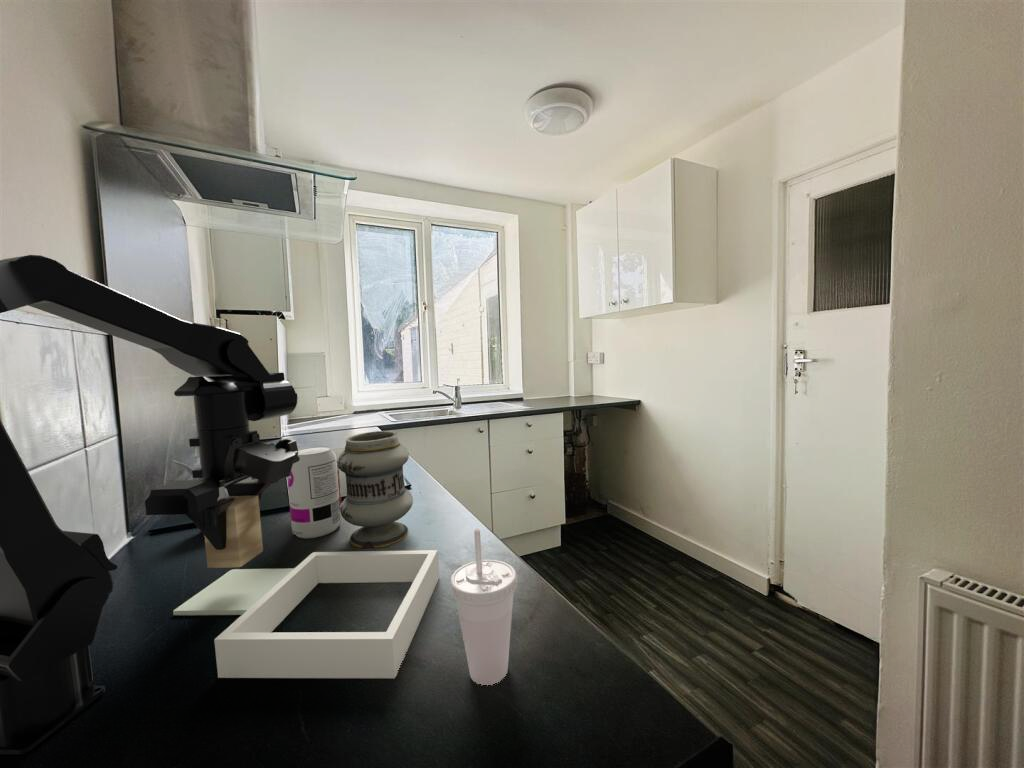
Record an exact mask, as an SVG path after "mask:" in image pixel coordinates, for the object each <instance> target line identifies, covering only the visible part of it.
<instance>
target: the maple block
mask: <svg viewBox="0 0 1024 768" xmlns="http://www.w3.org/2000/svg"><path fill="white" fill-rule="evenodd" d="M225 498H235V499H234V501H233V502H232V503H231V504H230V506H229V507H228V508H227V510H226V536H227V538H226V548H225V549H223V550H216V549H215V548H214V547H213V545H212V544H211V543H210V542H209V541H208V539H207V538H206V537H205V536H204V535H203V536H204V537H205V539H204V545H205V556H206V557H205V558H206V565H207V568H208V569H209V568H211V569H213V568H216V569H218V568H225V569H226V568H241V567H243V566H244V565H245V564H247V563H248V562H250V561H252V560H253V559H254V558H256V557H257V556H258V555H260V554H261V553H262V552H263V551H264V546H263V536H262V535H263V534H262V523H261V512H260V502H259V499H258V496H227V497H225ZM204 537H203V538H204Z"/></svg>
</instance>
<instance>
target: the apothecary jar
mask: <svg viewBox="0 0 1024 768" xmlns="http://www.w3.org/2000/svg"><path fill="white" fill-rule="evenodd" d="M409 458H410V454H409V451H408V448H407V447H406V446H404V445H403V444H402V443H400V441H399V439H398V433H397V432H396V431H392V430H378V431H377V430H376V431H368V432H362V433H358V434H354V435H350V436H348V437H347V438H346V440H345V446H344V450H342V451H341V453H339V455H338V457H337V465H338V468H339V471H340V472H342V473H344V474H345V483H346V497H345V498H344V499H343V501H341V506H340V513H341V518H342V519H343V520H344V521H345V522H347V523H349V524H350V525H354V526H356V527H360V528H358V529H356V530H355V531H353V533H351V535H350V536H349V541H348V542H349V543H350V544H351V545H352V547H355V548H359V549H365V548H373V549H377V548H378V549H379V548H384V547H388V546H391V545H393V544H396V543H399V542H401V541H402V540H403V539H405V538H406V537H407V536H408V534H409V528H408V526H407V525H406V524H405V523H402V522H398V520H400V519H402V518H403V517H404V516H405V515H407V514H408V513H409V511H410V510H411V509H412V506H413V504H414V498H413V495H412V493H411V492H410V490H408V488H405V487H406V486H405V478H404V477H405V476H404V465H405V464H406V463H407V462H408V460H409Z"/></svg>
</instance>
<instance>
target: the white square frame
mask: <svg viewBox="0 0 1024 768" xmlns="http://www.w3.org/2000/svg"><path fill="white" fill-rule="evenodd" d="M438 550H439V549H431V550H429V549H427V550H425V549H424V550H421V549H420V550H416V549H415V550H376V551H375V550H374V551H373V550H372V551H371V550H370V551H368V550H367V551H365V550H364V551H361V550H359V551H357V550H356V551H313V552H312V553H310V554H309V555H308V556H307V557H306V558H305V559H303V560H302V561H301V562H300V563H299V564H298V565H296V566H295V567H294V568H295V569H293V570H292V571H291V572H290V573H289V574H288V575H287V576H286V577H284V578H283V579H282V580H281V581H280V582H279V583H278V584H276V585H275V586H274V587H273V588H272V589H271V590H270V591H269V592H267V593H266V594H265V595H264V596H263V597H262V598H261V599H259V600H258V601H257V602H256V603H255V604H254V605H253V606H252V607H250V608H249V609H248V610H247V611H246V612H245V613H244V614H243V615H239V617H237V618H236V619H235V620H234V621H233V622H232V623H231V624H230V625H229V626H228V627H227V628H225V629H224V630H223V631H222V632H221V633H219V635H218V636H216V637H215V638H214V640H213V642H214V648H215V649H214V650H215V659H216V660H215V661H216V669H217V678H218V679H219V678H220V679H224V678H225V679H396V678H395V677H397V675H398V674H399V671H400V669H399V668H401V666H402V664H403V662H404V659H405V658H406V655H407V653H408V650H409V648H410V646H411V644H412V641H413V638H414V636H415V634H416V632H417V630H418V628H419V625H420V623H421V620H422V618H423V616H424V614H425V611H426V608H427V607H428V604H429V602H430V600H431V598H432V597H433V593H434V591H435V588H436V586H437V583H438V582H439V579H440V570H439V569H440V568H439V551H438ZM345 583H346V584H348V583H349V584H353V583H354V584H355V583H356V584H357V583H359V584H360V583H363V584H364V583H367V584H370V583H411V586H410V587H409V589H408V591H407V592H406V594H405V596H404V598H403V600H402V602H401V603H400V605H399V607H398V609H397V611H396V613H395V614H394V617H393V619H392V620H391V622H390V624H389V625H388V628H387V630H386V631H349V632H348V631H335V632H333V631H329V632H328V631H322V632H320V631H316V632H315V631H314V632H313V631H312V632H306V631H304V632H300V631H298V632H297V631H296V632H288V631H287V632H280V631H279V632H276V631H275V632H273V631H274V630H275V629H276V628H277V627H278V626H279V625H280V624H281V623H282V622H283V621H284V620H285V618H286V617H287V616H288V615H289V614H290V613H291V612H292V611H293V610H294V609H295V608H296V607H297V606H298V605H299V604H300V603H301V602H302V601H303V600H304V599H305V598H306V596H307V595H309V593H311V592H312V590H313V589H314V588H315V587H317V585H318V584H345ZM406 652H407V653H406ZM405 654H406V655H405ZM402 661H403V662H402ZM401 663H402V664H401ZM400 665H401V666H400ZM398 670H399V671H398Z"/></svg>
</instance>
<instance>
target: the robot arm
mask: <svg viewBox="0 0 1024 768" xmlns="http://www.w3.org/2000/svg"><path fill="white" fill-rule="evenodd" d="M26 306H27V307H31V308H34V309H37V310H39V311H42V312H45V313H49V314H51V315H54V316H57V317H60V318H63V319H65V320H67V321H71V322H73V323H76V324H80V325H82V326H84V327H88V328H91V329H93V330H96V331H98V332H102V333H105V334H108V335H110V336H113V337H115V338H119V339H123V340H124V341H127V342H130V343H133V344H134V345H135V344H136V345H138V346H141V347H144V348H147V349H149V350H151V351H153V352H155V353H158V354H159V355H160V356H162V357H163V358H164V359H165V360H166V361H167V362H168V363H169V364H171V365H173V366H174V367H176V368H177V369H180V370H182V371H183V372H185V373H187V374H189V375H191V376H189V377H188V378H187V379H186V381H185V382H184V383H183V384H181V386H179V387H178V388H177V389H176V390H174V393H173V394H174V396H175V397H193V404H194V415H195V425H196V434H197V436H196V437H191V438H189V439H188V442H189V447H193V448H194V447H198V456H199V465H200V466H199V467H198V468H195V469H193V470H192V474H193V477H192V479H191V480H189V479H188V480H175V481H173V482H169V483H166V484H163V485H161V486H157V487H154V488H153V489H152V488H151V489H150V491H149V492H148V493H147V494H146V495H145V497H144V504H145V505H144V508H145V514H146V516H166V515H185V516H186V517H187V518H188V519H189V520H191V522H192V524H195V526H196V527H197V528H198V530H199V531H200V533H201V532H202V533H201V534H203V536H205V537H206V538H207V539H208V541H209V542H210V543H211V544H212V545H213V547H214V548H215V549H216V550H223V549H225V548H226V538H227V536H226V510H227V508H228V507H229V506H230V504H231V503H232V502H233V501H234V499H235V498H225V491H224V488H225V487H226V489H227V492H228V495H229V496H258V499H259V503H261V498H262V495H263V493H264V492H265V490H266V489H268V488H269V486H270V485H273V484H276V483H277V482H279V481H280V480H282V479H284V478H287V477H288V476H290V473H291V469H292V466H293V464H294V463H296V462H298V461H299V460H300V458H299V456H298V449H299V448H298V444H297V440H295V439H293V438H289V437H286V438H283V439H280V440H279V441H278V442H277V443H273V442H271V443H263V442H261V438H260V433H258V430H250V423H249V422H250V421H251V422H259V421H262V420H267V419H268V420H269V419H272V418H273V419H274V418H278V417H279V418H280V417H283V416H288V415H290V414H291V413H293V412H294V411H295V409H296V408H297V405H298V398H299V397H298V393H297V392H296V391H295V388H294V387H293V385H292V384H291V383H290V382H289V381H287V380H286V379H285V373H284V371H283V372H282V371H281V372H269V371H268V370H267V369H266V367H265V366H264V364H263V363H262V362H261V360H260V359H259V357H258V356H257V355H256V354H255V352H254V351H253V350H252V348H251V347H250V345H249V342H250V341H249V340H248V339H247V338H246V336H244V334H241V333H240V332H237V331H234V330H230V329H227V328H223V327H219V326H215V325H211V324H210V325H209V324H204V323H198V322H197V323H196V322H193V321H192V322H191V321H188V320H184V319H181V318H179V317H176V316H175V315H171V314H169V313H168V312H165V311H164V310H161V309H160V308H159V309H158V308H156V307H154V306H151V305H150V304H147V303H145V302H144V301H143V302H142V301H141V300H138V299H136V298H134V297H132V296H130V295H127V294H125V293H122V292H120V291H118V290H116V289H114V288H111V287H110V286H107V285H105V284H103V283H100V282H98V281H95V280H93V279H91V278H88V277H86V276H84V275H82V274H80V273H78V272H76V271H73V270H71V269H68V268H67V267H66V266H65V265H64V264H62V263H61V262H58V261H57V260H56V259H53V258H50V257H47V256H43V255H36V254H28V255H23V256H16V257H9V258H3V259H0V314H2V313H6V312H9V311H13V310H17V309H20V308H23V307H26ZM206 378H207V379H208V380H207V379H206ZM210 380H211V381H210ZM193 478H198V480H194V479H193ZM118 567H119V566H118V565H117V564H115V563H113V561H112V562H111V560H110V559H109V558H108V557H107V554H106V550H105V546H104V542H103V540H102V538H101V536H100V535H99V533H90V532H89V533H88V532H79V531H70V530H62V529H61V528H60V527H59V525H58V524H57V523H56V521H55V520H54V517H53V516H52V513H51V512H50V509H49V508H48V506H47V504H46V501H45V500H44V499H43V497H42V495H41V494H40V492H39V489H38V488H37V486H36V484H35V482H34V480H33V479H32V476H31V475H30V473H29V471H28V468H27V467H26V465H25V463H24V461H23V459H22V458H21V456H20V454H19V452H18V450H17V448H16V446H15V444H14V443H13V441H12V439H11V437H10V436H9V434H8V432H7V430H6V428H5V425H4V424H3V422H2V420H1V419H0V755H18V756H19V755H23V754H26V753H29V752H31V750H33V749H35V748H36V747H37V746H38V745H40V744H41V743H42V742H43V741H45V739H47V738H49V737H50V736H51V735H52V734H53V733H55V732H56V731H57V730H59V729H60V728H61V727H62V726H64V725H65V724H66V723H68V722H69V721H70V720H71V719H73V718H75V716H77V715H78V714H79V713H80V712H82V711H83V710H84V709H85V708H87V707H88V706H89V705H91V704H92V703H94V702H95V701H96V700H97V699H98V698H100V697H101V696H103V694H105V692H106V686H105V685H91V684H92V683H93V681H94V679H93V677H94V676H93V670H92V668H93V667H92V660H91V653H90V646H91V645H92V644H93V643H94V640H95V636H96V632H97V629H98V626H99V621H100V618H101V614H102V611H103V608H104V606H105V605H106V603H107V601H108V598H110V597H109V596H110V594H112V592H114V587H115V586H114V585H115V582H114V580H113V576H112V574H111V572H110V571H116V570H117V569H118Z"/></svg>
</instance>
